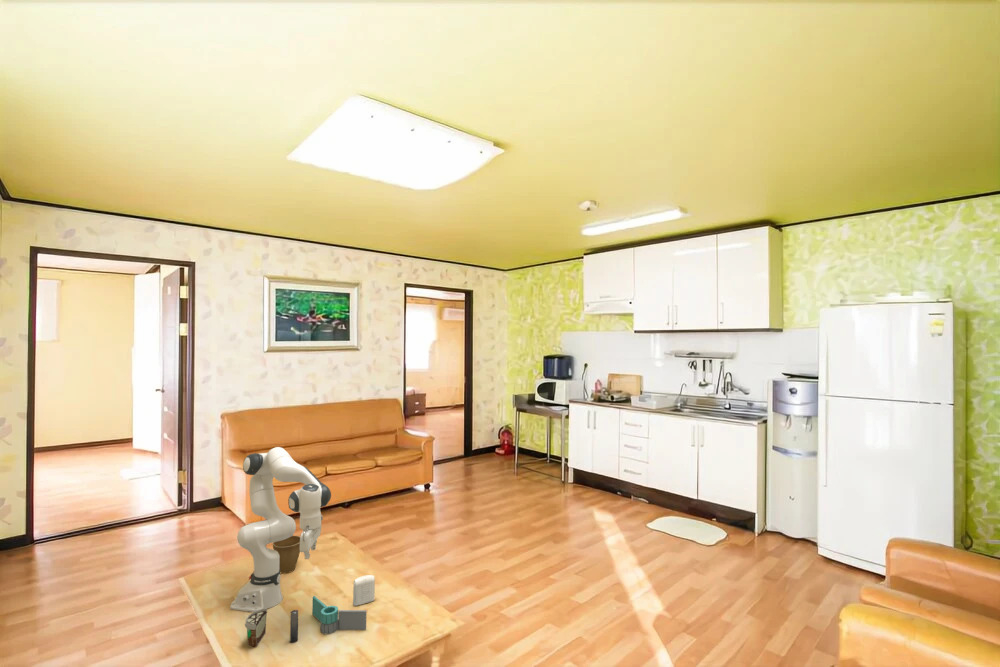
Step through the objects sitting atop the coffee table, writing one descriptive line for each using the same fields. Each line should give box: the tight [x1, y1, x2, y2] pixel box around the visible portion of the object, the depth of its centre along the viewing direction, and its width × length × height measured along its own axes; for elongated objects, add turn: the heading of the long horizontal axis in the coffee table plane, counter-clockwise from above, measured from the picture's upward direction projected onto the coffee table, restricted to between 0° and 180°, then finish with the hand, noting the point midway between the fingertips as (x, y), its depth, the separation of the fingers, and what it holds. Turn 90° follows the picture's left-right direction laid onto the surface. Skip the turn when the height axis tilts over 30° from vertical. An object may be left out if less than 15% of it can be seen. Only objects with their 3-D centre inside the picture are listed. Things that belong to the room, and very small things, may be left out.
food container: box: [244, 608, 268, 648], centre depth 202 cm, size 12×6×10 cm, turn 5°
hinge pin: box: [289, 609, 299, 644], centre depth 202 cm, size 3×3×12 cm
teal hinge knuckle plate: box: [311, 595, 339, 624], centre depth 214 cm, size 20×7×8 cm, turn 45°
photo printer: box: [352, 574, 376, 607], centre depth 232 cm, size 10×4×12 cm, turn 123°
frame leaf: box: [320, 609, 367, 635], centre depth 210 cm, size 20×7×8 cm, turn 90°
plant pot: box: [272, 535, 301, 574], centre depth 263 cm, size 15×15×16 cm
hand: (310, 554), depth 212 cm, fingers open, 8 cm apart
